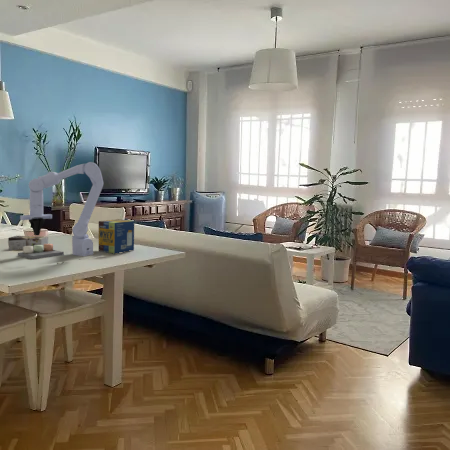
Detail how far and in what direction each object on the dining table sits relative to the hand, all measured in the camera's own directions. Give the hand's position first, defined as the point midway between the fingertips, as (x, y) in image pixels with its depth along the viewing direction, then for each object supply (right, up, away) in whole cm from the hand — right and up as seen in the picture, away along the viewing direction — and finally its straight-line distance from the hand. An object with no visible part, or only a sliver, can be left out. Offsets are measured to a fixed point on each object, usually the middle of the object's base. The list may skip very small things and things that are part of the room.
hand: (36, 235), depth 207 cm
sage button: (+1, -8, 0) cm, 8 cm away
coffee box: (-3, -5, +18) cm, 19 cm away
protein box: (+31, -9, +22) cm, 39 cm away
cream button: (-2, -8, -4) cm, 9 cm away
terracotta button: (+4, -7, +4) cm, 9 cm away
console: (+2, -10, -1) cm, 10 cm away
